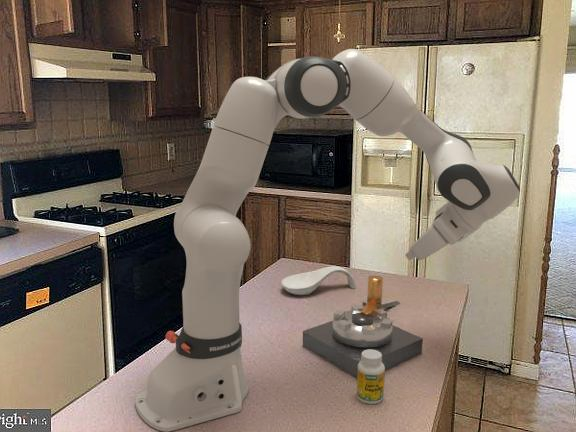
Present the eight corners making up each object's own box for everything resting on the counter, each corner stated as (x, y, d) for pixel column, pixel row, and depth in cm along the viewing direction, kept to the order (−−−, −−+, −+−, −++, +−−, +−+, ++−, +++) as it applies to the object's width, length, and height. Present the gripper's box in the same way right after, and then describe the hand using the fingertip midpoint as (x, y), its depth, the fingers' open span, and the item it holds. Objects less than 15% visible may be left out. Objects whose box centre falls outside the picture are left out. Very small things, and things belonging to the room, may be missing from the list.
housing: (362, 381, 109) (363, 363, 108) (302, 346, 125) (302, 330, 124) (421, 354, 121) (422, 337, 120) (360, 324, 137) (361, 310, 136)
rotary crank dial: (383, 352, 113) (385, 307, 111) (323, 339, 119) (324, 296, 116) (402, 320, 130) (405, 280, 127) (349, 310, 135) (351, 271, 133)
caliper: (362, 326, 137) (363, 304, 135) (358, 325, 137) (359, 303, 136) (400, 303, 152) (401, 283, 150) (396, 302, 152) (398, 282, 151)
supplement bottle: (377, 388, 107) (379, 346, 105) (387, 403, 102) (390, 358, 100) (352, 391, 106) (354, 348, 104) (362, 406, 101) (364, 361, 98)
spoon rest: (287, 301, 153) (287, 278, 151) (276, 287, 164) (276, 266, 162) (360, 293, 160) (361, 271, 158) (345, 280, 171) (346, 260, 169)
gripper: (453, 203, 127) (410, 236, 133) (436, 219, 109) (388, 256, 115) (470, 223, 126) (426, 255, 132) (456, 242, 108) (406, 279, 114)
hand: (408, 256), depth 124 cm, fingers closed
